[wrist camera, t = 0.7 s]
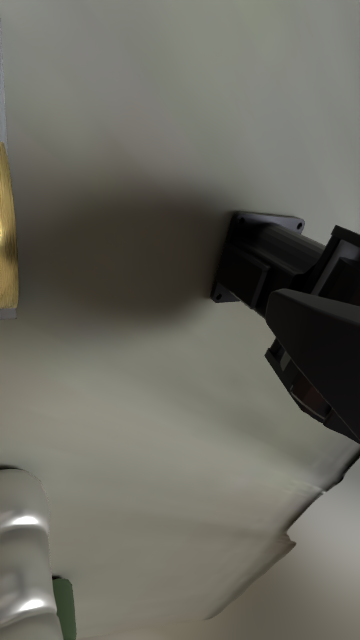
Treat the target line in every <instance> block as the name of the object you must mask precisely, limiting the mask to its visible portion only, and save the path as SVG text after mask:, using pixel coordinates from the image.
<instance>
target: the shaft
mask: <svg viewBox="0 0 360 640" xmlns="http://www.w3.org/2000/svg"><path fill="white" fill-rule="evenodd" d="M17 305H18V255H17V239H16V225H15V214H14V203H13V194H12V185H11V177H10V170H9V163H8V158H7V153H6V148H5V145H4V142H1V141H0V309H3V308H16V307H17Z"/></svg>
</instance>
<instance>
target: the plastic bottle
mask: <svg viewBox="0 0 360 640" xmlns="http://www.w3.org/2000/svg"><path fill="white" fill-rule="evenodd" d="M49 529H50V513H49V501H48V497H47V495H46V492H45V490H44V487H43V485H42V483H41V482H40V480H39V479H37V478H36V477H34V476H33V475H32V474H30V473H29V472H26V471H24V470H19V469H4V470H0V640H63V635H62V630H61V626H60V621H59V617H57V615H56V612H57V607H56V602H55V598H54V593H53V584H52V572H51V560H50V549H49V538H48V537H49Z"/></svg>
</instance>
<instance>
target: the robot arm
mask: <svg viewBox="0 0 360 640" xmlns="http://www.w3.org/2000/svg"><path fill="white" fill-rule="evenodd" d="M240 218H241V220H240V222H239V223H238V221H239V219H240ZM304 225H305V221H304V220H303V219H300V218H298V217H288V216H278V215H268V214H258V213H248V212H237V213H235V214H234V215H233V217H232V219H231V223H230V227H229V230H228V234H227V237H226V241H225V244H224V248H223V252H222V255H221V259H220V262H219V266H218V269H217V273H216V276H215V280H214V284H213V287H212V291H211V294H210V298H211V299H212V300H213V301H214V302H215V303H222V302H235V301H241V302H243V303H244V304H245V305H246V306H247V307H249V308H250V309H253V310H254V311H255V312H257V313H258V314H259V315H260V316H262V317H263V318H264V319H265V320H266V323H267V325H268V326H269V328H270V329H271V331H272V332H273V334H274V335H275V336H276V338H275V340H274V342H273V344H272V345H271V347H270V348H268V350H267V352H266V354H265V355H264V356H265V357H266V359H267V360H268V362H269V363H270V365H271V366H272V368H273V370H274V371H275V373H276V374H277V376H278V377H279V379H280V380H281V382H282V383H283V385H284V386H285V388H286V389H287V391H288V392H289V394H290V395H291V397H292V398H293V400H294V401H295V402H296V403H297V405H298V406H299V408H300V409H301V410H302V411H303V412H305V413H307V414H308V415H310V416H311V417H312V418H314V419H316V420H317V421H319V422H321V423H323V425H324V426H325V427H327V428H329V429H331V430H333V431H336V432H338V433H340V434H343V435H345V436H347V437H348V438H350V439H352V440H354V441H355V442H357V443H359V444H360V234H358V233H355V232H353V231H350V230H348V229H345V228H342V227H340V226H337V225H335V227H334V229H333V231H332V233H331V235H332V236H331V238H330V240H329V242H328V244H327V245H326V246H325V245H323V244H320V243H318V242H316V241H314V240H312V239H310V238H308V237H305V236H303V235H301V233H302V230H303V228H304ZM218 294H219V295H218ZM217 295H218V296H217ZM216 296H217V297H216Z"/></svg>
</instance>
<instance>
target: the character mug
mask: <svg viewBox="0 0 360 640" xmlns="http://www.w3.org/2000/svg"><path fill="white" fill-rule="evenodd" d="M52 584H53V593H54V598H55V602H56V607H57V612H56V615H57V617H59V621H60V626H61V630H62V635H63V640H75V639H76V622H75V609H74V598H73V590H72V584H71V583H70V581H69V580H68V579H61V578H58V579H55V580H52Z"/></svg>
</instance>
